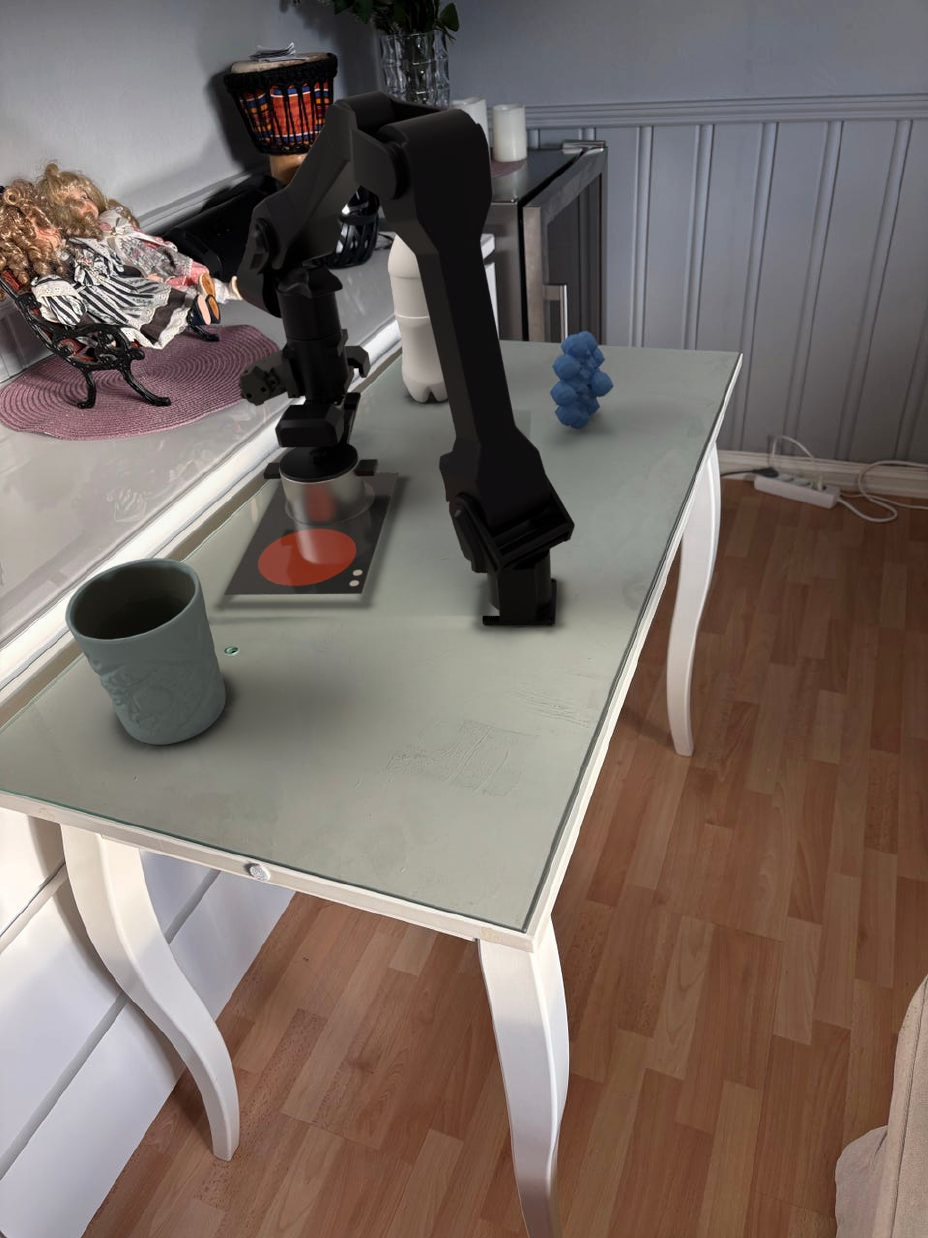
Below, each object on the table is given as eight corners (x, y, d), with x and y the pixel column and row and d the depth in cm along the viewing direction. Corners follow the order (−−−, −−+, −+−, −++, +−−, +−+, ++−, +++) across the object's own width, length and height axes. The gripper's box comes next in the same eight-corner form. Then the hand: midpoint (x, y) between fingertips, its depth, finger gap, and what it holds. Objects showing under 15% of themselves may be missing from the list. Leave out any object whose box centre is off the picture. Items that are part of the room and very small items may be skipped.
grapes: (594, 456, 103) (594, 355, 96) (539, 446, 106) (536, 347, 99) (630, 412, 111) (633, 315, 104) (578, 404, 114) (577, 309, 106)
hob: (365, 605, 85) (363, 595, 84) (222, 606, 87) (219, 596, 86) (403, 480, 103) (402, 470, 102) (284, 482, 105) (281, 473, 104)
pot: (375, 523, 94) (366, 470, 90) (264, 526, 95) (251, 474, 91) (387, 481, 100) (379, 430, 97) (284, 484, 102) (272, 434, 98)
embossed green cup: (181, 655, 82) (140, 544, 74) (262, 692, 77) (227, 578, 69) (90, 726, 75) (35, 613, 68) (173, 772, 71) (123, 655, 63)
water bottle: (399, 389, 122) (371, 189, 106) (450, 378, 123) (430, 179, 108) (413, 411, 116) (385, 203, 101) (466, 399, 118) (447, 192, 102)
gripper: (262, 298, 101) (291, 426, 110) (208, 371, 86) (246, 510, 96) (360, 294, 99) (380, 423, 109) (321, 367, 85) (349, 509, 95)
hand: (339, 464), depth 102 cm, fingers closed
